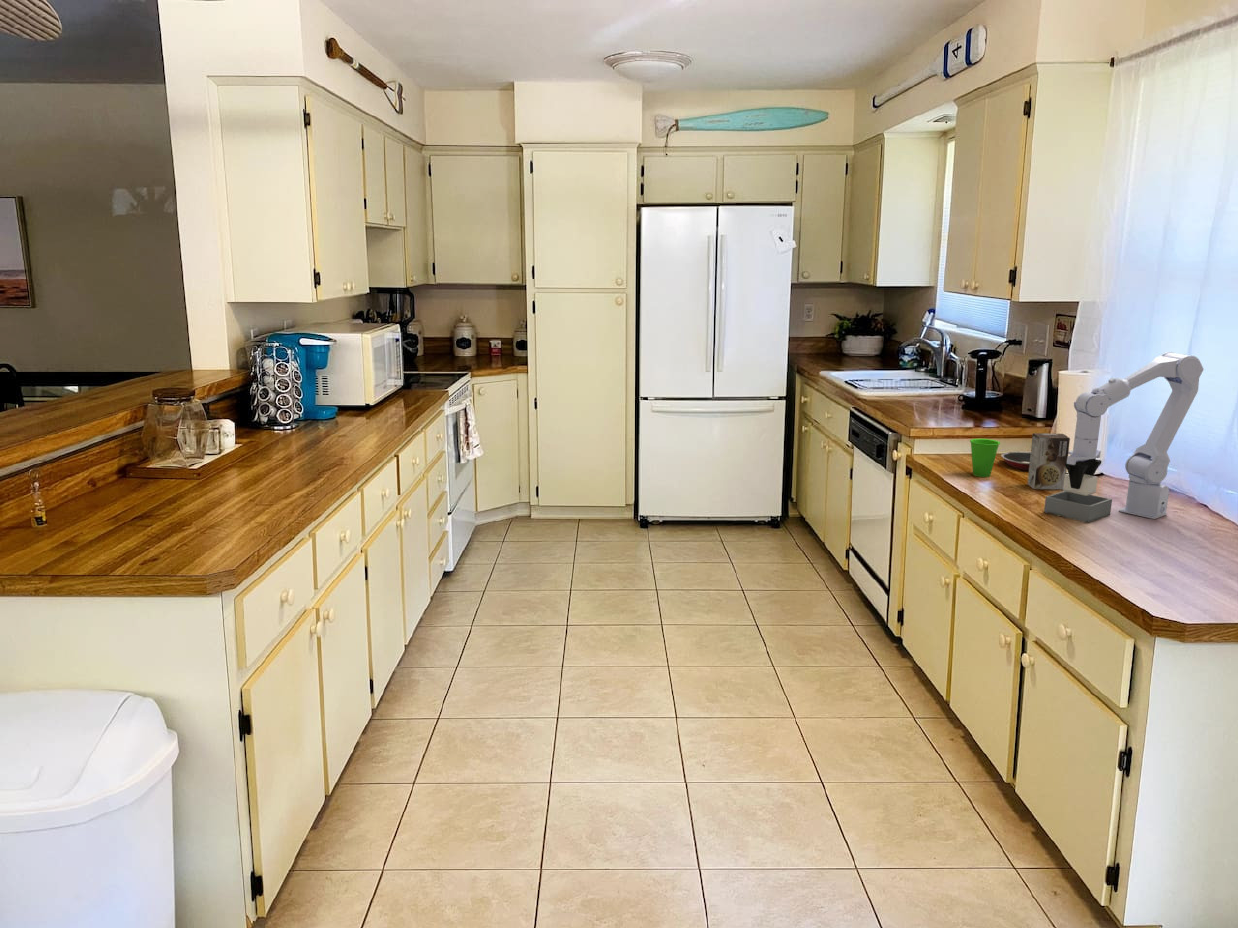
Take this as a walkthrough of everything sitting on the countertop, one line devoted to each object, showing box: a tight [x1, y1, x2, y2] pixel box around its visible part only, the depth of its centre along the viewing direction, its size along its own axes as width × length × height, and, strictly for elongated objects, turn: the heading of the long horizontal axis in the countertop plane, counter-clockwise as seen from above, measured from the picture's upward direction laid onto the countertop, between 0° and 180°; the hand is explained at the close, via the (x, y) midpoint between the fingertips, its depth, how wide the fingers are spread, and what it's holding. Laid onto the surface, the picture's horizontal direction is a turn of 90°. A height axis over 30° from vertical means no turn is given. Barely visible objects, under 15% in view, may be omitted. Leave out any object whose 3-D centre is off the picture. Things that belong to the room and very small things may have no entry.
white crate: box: [1062, 473, 1099, 496], centre depth 253 cm, size 6×5×4 cm
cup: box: [969, 438, 1001, 478], centre depth 295 cm, size 9×9×11 cm
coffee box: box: [1027, 432, 1071, 491], centre depth 281 cm, size 9×6×16 cm
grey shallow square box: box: [1043, 490, 1113, 524], centre depth 254 cm, size 12×12×4 cm
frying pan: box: [1000, 451, 1031, 472], centre depth 302 cm, size 19×32×4 cm, turn 177°
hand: (1080, 486), depth 253 cm, fingers closed on white crate, 5 cm apart
